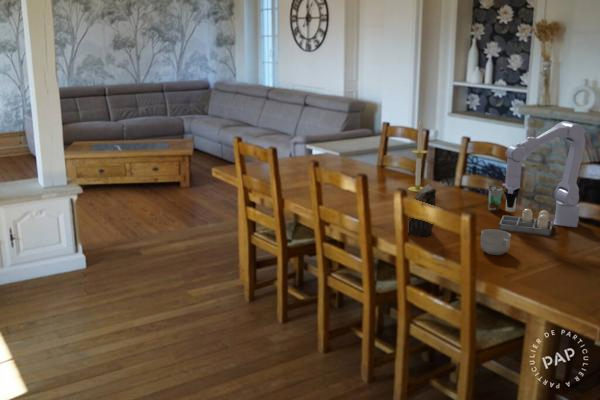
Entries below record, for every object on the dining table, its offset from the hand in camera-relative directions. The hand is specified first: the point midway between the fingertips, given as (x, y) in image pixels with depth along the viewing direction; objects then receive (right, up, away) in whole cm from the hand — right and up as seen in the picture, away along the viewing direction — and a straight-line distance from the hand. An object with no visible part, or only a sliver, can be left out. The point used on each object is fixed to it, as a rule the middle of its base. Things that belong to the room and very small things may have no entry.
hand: (510, 206), depth 268 cm
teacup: (-15, -18, -28) cm, 36 cm away
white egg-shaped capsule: (0, -2, +1) cm, 2 cm away
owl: (-39, -11, -3) cm, 41 cm away
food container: (+2, -2, +29) cm, 29 cm away
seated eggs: (+10, -9, 0) cm, 13 cm away
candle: (-28, +8, +64) cm, 70 cm away
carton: (+7, -9, +1) cm, 12 cm away
